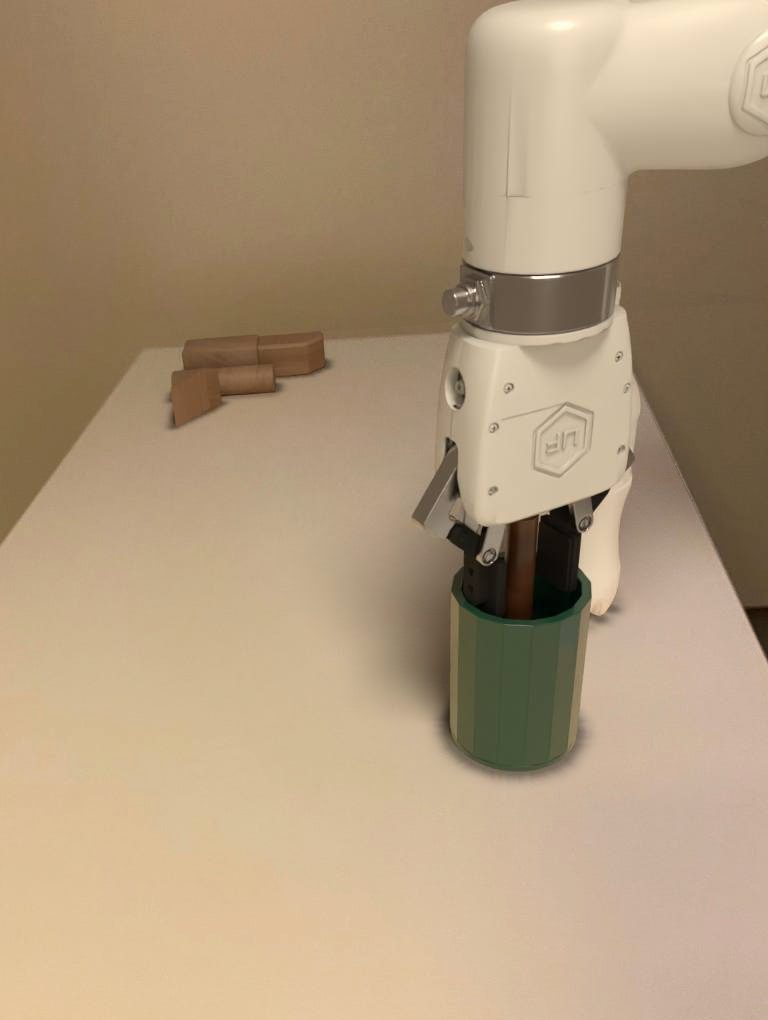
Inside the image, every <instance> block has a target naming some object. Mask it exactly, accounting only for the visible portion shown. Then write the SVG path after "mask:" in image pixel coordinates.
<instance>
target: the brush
mask: <svg viewBox="0 0 768 1020" xmlns="http://www.w3.org/2000/svg"><path fill="white" fill-rule="evenodd" d="M538 520H539V514H538V515H535V516H532V517H529V518H525V519H522V520H519V521H516V522H513V523H510V524H506V527H505V542H504V543H505V544H504V551H505V562H506V565H507V573H506V595H505V614H504V615H503V617H502V618H504V619H515V620H532V609H533V594H534V580H535V565H536V550H537V535H538Z"/></svg>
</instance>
